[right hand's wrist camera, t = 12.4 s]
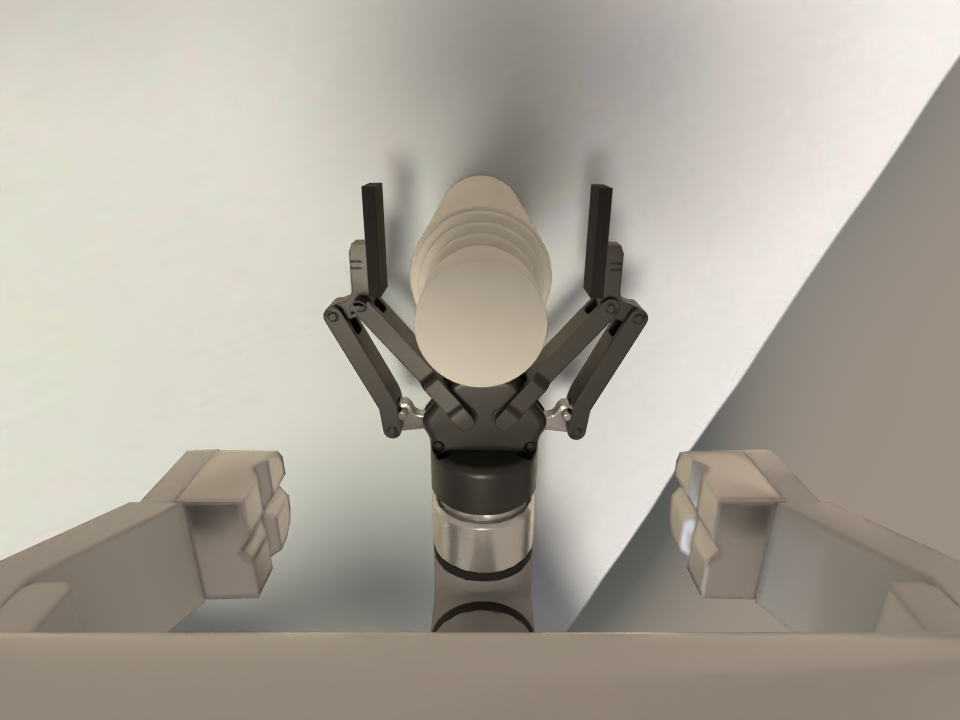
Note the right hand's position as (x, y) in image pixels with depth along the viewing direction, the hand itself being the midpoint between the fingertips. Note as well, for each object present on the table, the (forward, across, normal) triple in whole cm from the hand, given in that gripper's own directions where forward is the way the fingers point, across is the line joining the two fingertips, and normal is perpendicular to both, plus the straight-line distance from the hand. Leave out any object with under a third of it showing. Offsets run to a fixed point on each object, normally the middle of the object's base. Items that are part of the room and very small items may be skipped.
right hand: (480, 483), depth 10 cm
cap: (+9, 0, 0) cm, 9 cm away
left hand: (+27, 0, -3) cm, 27 cm away
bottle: (+34, 0, 0) cm, 34 cm away
